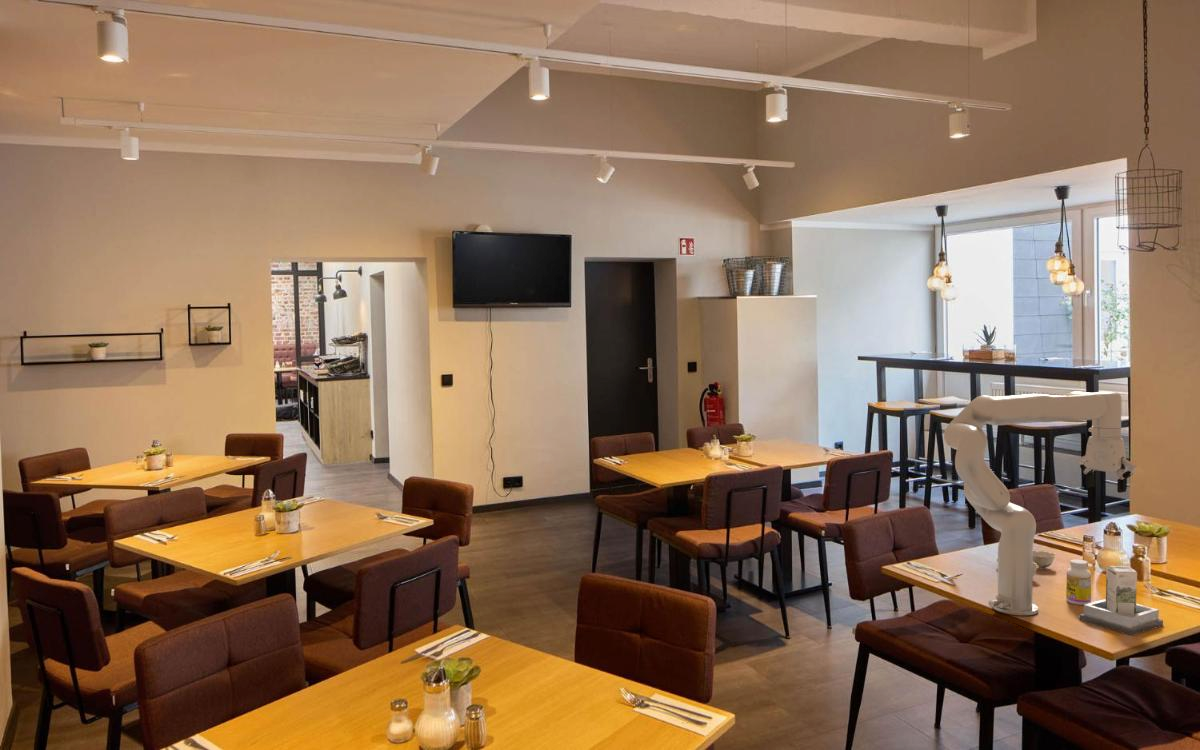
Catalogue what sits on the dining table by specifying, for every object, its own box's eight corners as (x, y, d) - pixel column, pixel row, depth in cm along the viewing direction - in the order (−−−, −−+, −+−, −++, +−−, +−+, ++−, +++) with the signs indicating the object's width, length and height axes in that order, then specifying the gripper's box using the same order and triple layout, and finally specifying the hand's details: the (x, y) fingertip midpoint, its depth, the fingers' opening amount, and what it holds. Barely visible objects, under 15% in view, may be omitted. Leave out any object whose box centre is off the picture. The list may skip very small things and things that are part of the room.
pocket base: (1132, 635, 236) (1132, 619, 235) (1079, 619, 249) (1079, 604, 248) (1162, 625, 243) (1163, 609, 242) (1110, 610, 256) (1110, 595, 256)
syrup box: (1125, 614, 248) (1126, 564, 247) (1136, 621, 242) (1137, 570, 241) (1105, 614, 249) (1105, 564, 248) (1115, 621, 243) (1116, 570, 242)
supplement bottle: (1062, 598, 267) (1062, 558, 267) (1084, 598, 267) (1084, 558, 266) (1072, 605, 261) (1073, 564, 260) (1095, 605, 260) (1095, 564, 260)
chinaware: (1037, 590, 281) (1043, 542, 279) (984, 577, 291) (989, 530, 289) (1056, 570, 302) (1062, 525, 300) (1006, 558, 313) (1011, 514, 311)
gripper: (1071, 431, 262) (1070, 486, 263) (1127, 437, 247) (1126, 495, 248) (1086, 429, 265) (1086, 483, 266) (1143, 435, 250) (1142, 492, 251)
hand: (1105, 489), depth 257 cm, fingers open, 9 cm apart
